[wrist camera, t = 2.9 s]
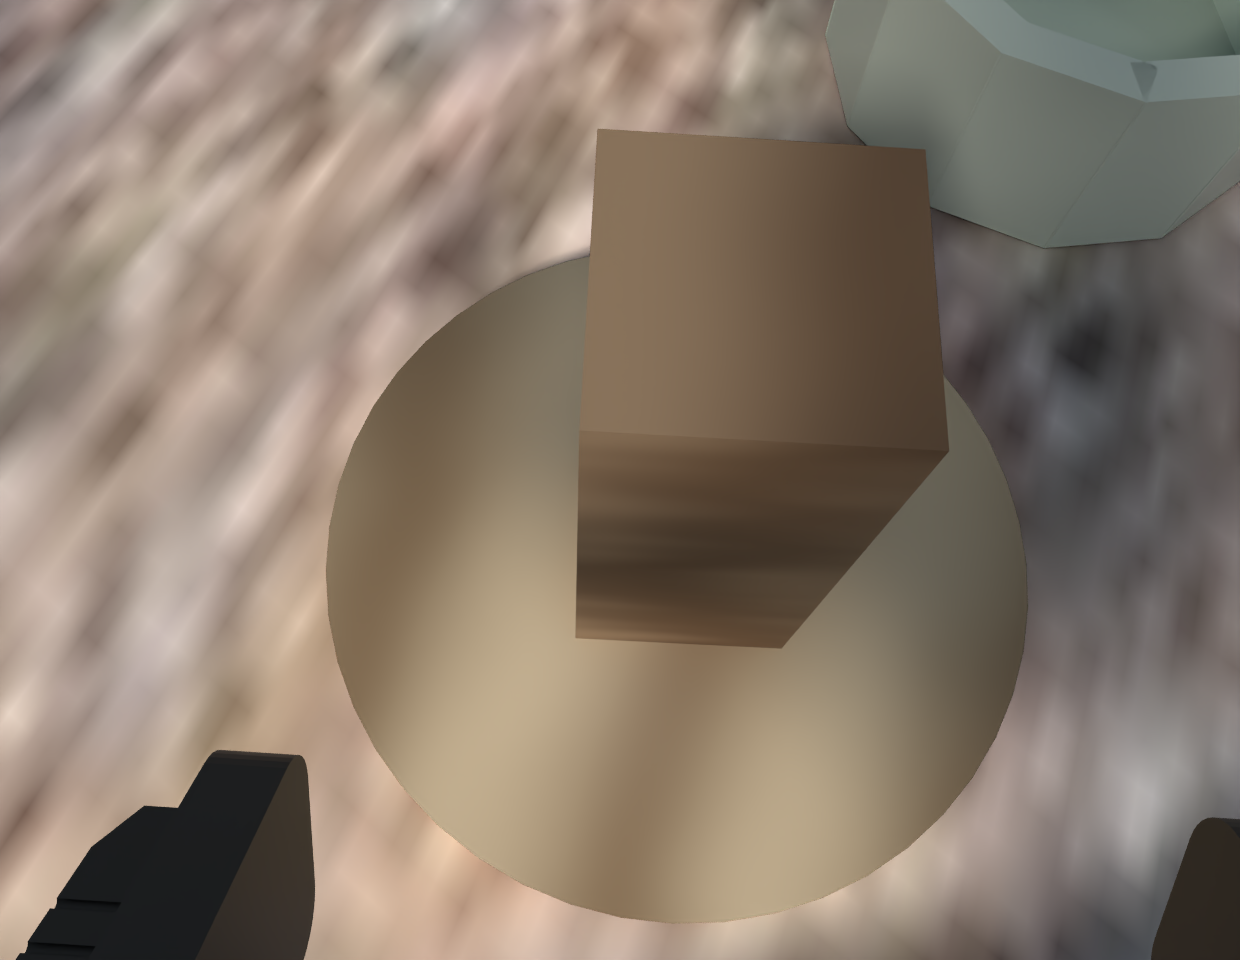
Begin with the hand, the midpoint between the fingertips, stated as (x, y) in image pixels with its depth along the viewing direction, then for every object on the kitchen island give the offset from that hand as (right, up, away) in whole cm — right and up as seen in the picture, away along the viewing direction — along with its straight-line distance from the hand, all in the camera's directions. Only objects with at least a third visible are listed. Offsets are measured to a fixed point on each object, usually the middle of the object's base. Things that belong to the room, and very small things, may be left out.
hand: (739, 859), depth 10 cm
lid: (0, +2, +13) cm, 13 cm away
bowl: (+10, +14, +18) cm, 25 cm away
